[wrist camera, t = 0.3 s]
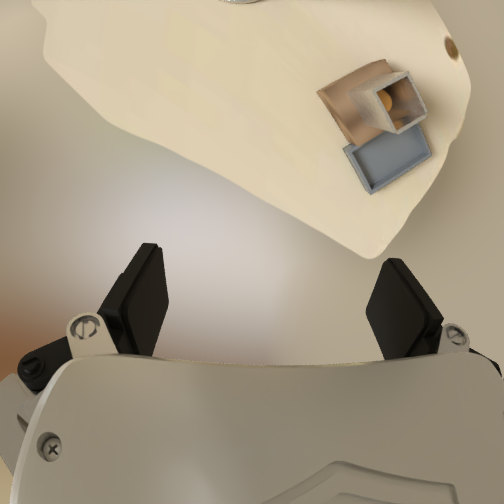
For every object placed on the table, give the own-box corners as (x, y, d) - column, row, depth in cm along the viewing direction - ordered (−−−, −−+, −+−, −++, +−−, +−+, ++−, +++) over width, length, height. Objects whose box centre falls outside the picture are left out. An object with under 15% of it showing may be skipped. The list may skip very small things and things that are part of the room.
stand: (316, 92, 37) (324, 90, 32) (371, 62, 33) (384, 58, 29) (348, 141, 41) (358, 146, 37) (399, 111, 37) (414, 113, 33)
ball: (356, 95, 33) (367, 95, 29) (376, 84, 31) (388, 83, 28) (369, 117, 34) (381, 120, 31) (388, 107, 33) (401, 108, 30)
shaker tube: (346, 92, 32) (370, 90, 25) (377, 75, 30) (408, 71, 23) (367, 128, 35) (395, 136, 27) (397, 110, 33) (429, 115, 25)
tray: (342, 148, 42) (347, 151, 39) (406, 110, 37) (413, 111, 35) (365, 190, 45) (370, 195, 43) (425, 152, 41) (432, 155, 39)
